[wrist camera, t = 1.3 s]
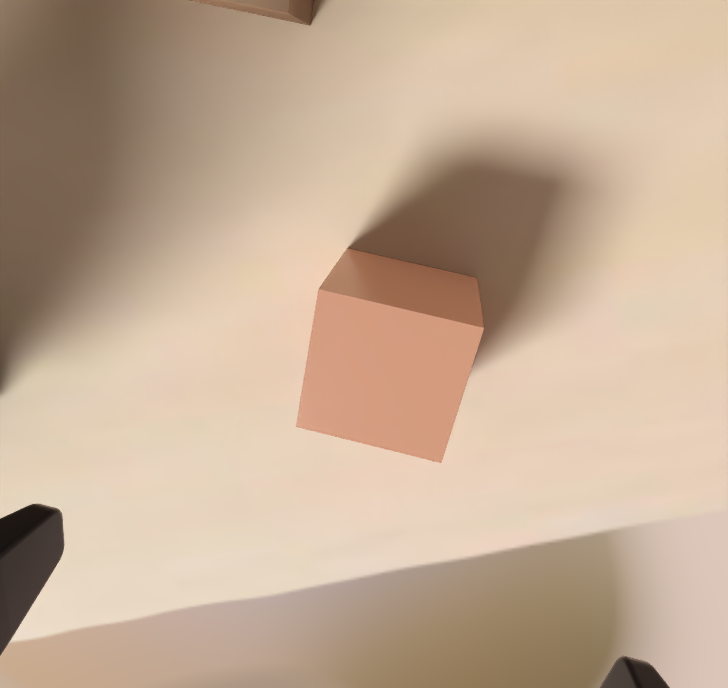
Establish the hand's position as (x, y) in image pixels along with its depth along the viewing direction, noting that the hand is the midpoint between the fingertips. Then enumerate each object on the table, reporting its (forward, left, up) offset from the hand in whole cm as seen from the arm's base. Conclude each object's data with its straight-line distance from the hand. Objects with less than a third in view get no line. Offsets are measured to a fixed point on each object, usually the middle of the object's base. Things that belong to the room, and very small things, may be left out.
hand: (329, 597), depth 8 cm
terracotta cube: (0, 0, -12) cm, 12 cm away
